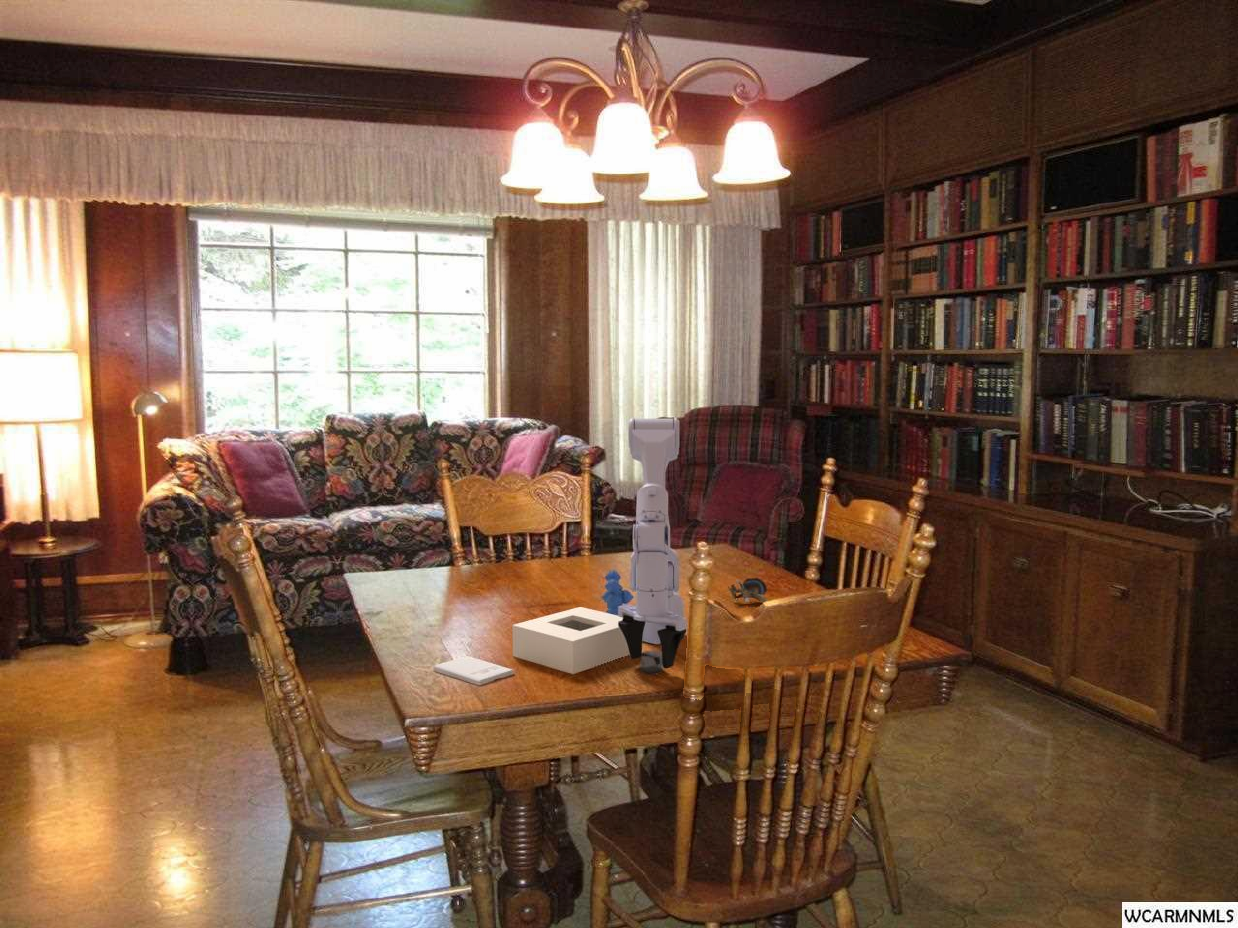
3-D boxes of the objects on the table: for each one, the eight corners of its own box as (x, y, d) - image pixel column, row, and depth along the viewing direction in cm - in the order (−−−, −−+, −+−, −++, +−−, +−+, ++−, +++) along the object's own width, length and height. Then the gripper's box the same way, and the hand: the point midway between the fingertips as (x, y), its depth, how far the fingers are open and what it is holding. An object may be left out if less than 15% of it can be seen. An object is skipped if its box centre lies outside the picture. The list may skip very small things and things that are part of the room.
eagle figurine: (727, 603, 221) (767, 598, 218) (726, 573, 224) (765, 568, 221) (736, 614, 227) (775, 610, 224) (735, 585, 230) (773, 580, 227)
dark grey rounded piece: (650, 665, 180) (650, 649, 180) (667, 670, 178) (667, 654, 177) (636, 670, 177) (636, 654, 177) (653, 675, 175) (653, 659, 174)
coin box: (580, 635, 200) (580, 606, 199) (640, 651, 189) (640, 620, 188) (512, 656, 186) (512, 624, 186) (572, 674, 176) (572, 641, 175)
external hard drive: (468, 663, 184) (514, 677, 176) (433, 674, 178) (479, 688, 170) (468, 655, 184) (514, 668, 176) (433, 665, 178) (479, 679, 170)
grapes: (634, 632, 202) (634, 574, 200) (601, 632, 202) (600, 574, 200) (633, 617, 213) (632, 562, 212) (601, 617, 213) (601, 562, 212)
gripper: (606, 585, 178) (607, 659, 179) (668, 598, 168) (668, 676, 170) (632, 579, 183) (633, 650, 185) (694, 591, 173) (694, 666, 175)
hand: (651, 662), depth 177 cm, fingers open, 7 cm apart
